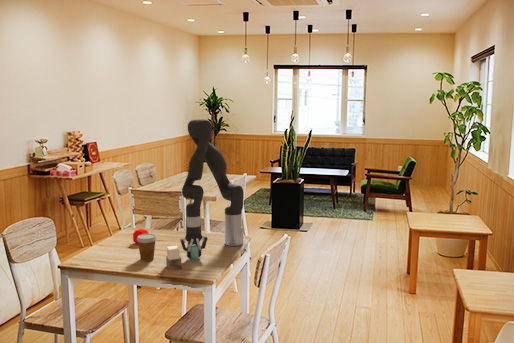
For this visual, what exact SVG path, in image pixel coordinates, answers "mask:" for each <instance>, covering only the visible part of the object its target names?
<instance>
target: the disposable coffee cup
mask: <svg viewBox="0 0 514 343" xmlns="http://www.w3.org/2000/svg"><path fill="white" fill-rule="evenodd" d="M156 240H157V237H156V234H153V233H149V234H141V235H139V236H138V237H137V241H138V244H137V245H138V250H139V255H140V260H141V261H142V262H152V261H153V260H155V249H156Z"/></svg>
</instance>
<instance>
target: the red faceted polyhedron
mask: <svg viewBox="0 0 514 343" xmlns="http://www.w3.org/2000/svg"><path fill="white" fill-rule="evenodd" d="M141 234H150V232H149V231H148V230H146V229H144V228H139V229H136V230H134V232H133V233H132V242H133V243H134V244H136V245H138V241H137V237H138V236H139V235H141Z"/></svg>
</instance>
